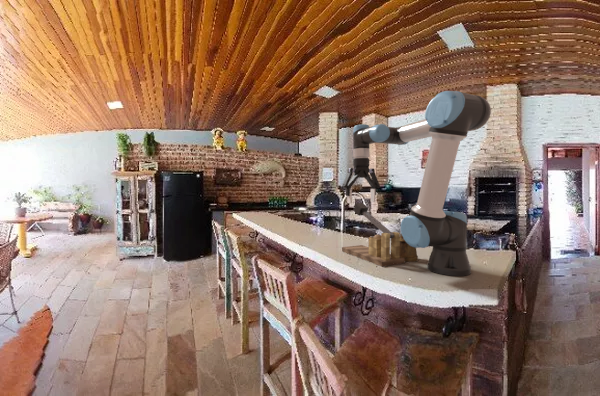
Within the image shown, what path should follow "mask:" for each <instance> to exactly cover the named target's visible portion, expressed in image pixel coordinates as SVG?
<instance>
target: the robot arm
mask: <svg viewBox="0 0 600 396" xmlns="http://www.w3.org/2000/svg"><path fill="white" fill-rule="evenodd" d="M491 115H492V109H491V104H490V103H489V101H488V100H487V99H486V98H485V97H483V96H481V95H477V94H470V93H467V92H461V91H456V90H454V91H453V90H445V91H441V92H439V93H437V94H436V95H435V96H434V97H433V98H431V100H430V101H429V103H428V105H427V106H426V109H425V113H424V119H422V120H417V121H414V122H410V123H408V124H407V123H406V124H404V125H401V126H398V127H394V126H393V127H391V126H387V125H386V124H385V123H379V124H378V123H377V124H374V125H373V126H372V125H371V126H370V125H369V124H365V123H364V124H357V125H354V127H353V131H352V136H353V137H352V138H353V139H352V141H353V148H352V149H353V151H352V152H353V154H352V155H353V160H352V162H353V167H350V168H349V167H348V168H347V173H346V176H345V178H344V180H343V183H342V185H341V187H342V188H343V189H344V190H345V196H346V200H347V201H346V202H347V204H352V203H353V197H352V196H353V189H352V186H354V184H355V182H356V181H357V179H360V178H361V179H363V178H364V180H366V182H367V183H368V185H369V186H370V187H371V188H370V203H376V196H377V190H378V189H379V188H380V187H381V185H380V181H379V180H378V178H377V175H376V173H375V172H376V171H375V168H373V167H372V168H370V155H371V154H370V153H371V152H370V151H371V150H370V145H371V144H384V145H385V144H388V145H398V146H402V145H403V146H404V145H407V144H408V143H410V142H413V141H418V140H423V139H427V138H431V143H430V146H429V151H428V155H427V160H426V164H425V167H424V171H423V176H422V179H421V181H422V182H421V185H420V189H419V194H418V197H417V203H416V204H415V205H413V206H411V209H410V213H409V215H407V216H405V218H403V219H402V220H401V223H400V234H402V236H403V238H404V240H405V241H406V243H407V244H409V245H410V246H412V247H415V248H416V249H417V248H419V249H420V248H421V249H425V248H428V247H429V248H430V247H432V250H431V252H430V255H429V259H428V261H427V264H426V265H427V266H426V268H427V270H429V271H430V272H433V273H435V274H440V275H444V276H455V277H459V276H460V277H461V276H462V277H464V276H468V275H471V273H472V266H471V265H470V260H469V257H468V254H467V236H468V235H467V234H468V232H467V231H468V221H467V220H468V216H467V214H466V213H464V212H459V211H449V210H444V204H445V201H446V198H447V193H448V190H449V186H450V181H451V179H452V175H453V170H454V166H455V163H456V159H457V153H458V150H459V146H460V143H461V141H463V140H464V139H465V138H467V136H468V132H471V131H473V132H474V131H476V130H480V129H482V127H484V126H485V125H486V124H487V123H488V121H489V119H490V117H491Z"/></svg>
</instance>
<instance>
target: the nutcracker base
mask: <svg viewBox="0 0 600 396" xmlns="http://www.w3.org/2000/svg"><path fill="white" fill-rule="evenodd" d="M391 232H392V233H393V234H394V238H390V234H388V233H383V232H381V234H380V235H381V239H373V238H374V236H371V237H368V246H366V245H362V244H361V245H359V244H358V245H352V246H342V247H341V252H343V253H345V254H349V255H351V256H353V257H356V258H358V259H362V260H364V261H367V262H369V263H372V264H373V265H377V266H379V267H388V266H396V265H402V264H405V263H406V261H405V259H404V258H401V257H399V250H400V234H401V232H397V231H391Z"/></svg>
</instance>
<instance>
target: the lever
mask: <svg viewBox="0 0 600 396" xmlns="http://www.w3.org/2000/svg"><path fill="white" fill-rule="evenodd" d="M368 210H369V207H368V206H367V205H365V204H364V203H363V202H355V203H354V206H353V209H352V211H353V212H354V213H355V214H356V215H358V216H360V217H361V216H363V217H365V218H366V219H367V220H368V221H369V222H370V223H372V225H374V226H375V227H376V228H377V229H379V231H381V233H388V234H390V239H391V238H394V234H393V233H392V232H393V231H391V230H390V229H388V228H387V227H386V226H385V225H383V223H381V221H379V220H378V219H376V218H375V217H374V216H373V215H372V214H371V213H370V212H369V211H368Z"/></svg>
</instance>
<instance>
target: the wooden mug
mask: <svg viewBox="0 0 600 396" xmlns="http://www.w3.org/2000/svg"><path fill="white" fill-rule="evenodd" d="M417 254H418V251H417V248H415V247H412V246H410V245H409V244H407V243H406V241H405V240H404V238H403V236H402V234H401V233H400V250H399V257H401V258H404V259H405V263H406V262H408V263H414V262H418V261H419V257H418V255H417Z"/></svg>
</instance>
